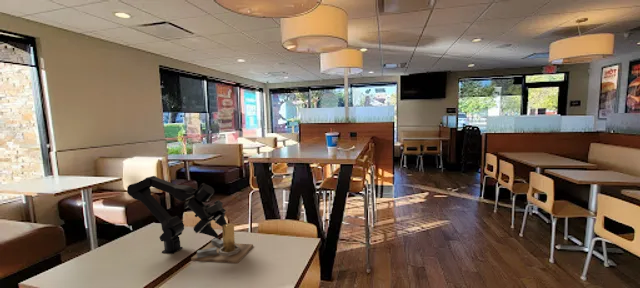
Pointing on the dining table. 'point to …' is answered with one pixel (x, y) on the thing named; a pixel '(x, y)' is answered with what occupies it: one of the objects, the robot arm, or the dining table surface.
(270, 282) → the dining table surface
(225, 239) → the brass sleeve
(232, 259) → the shaft board
